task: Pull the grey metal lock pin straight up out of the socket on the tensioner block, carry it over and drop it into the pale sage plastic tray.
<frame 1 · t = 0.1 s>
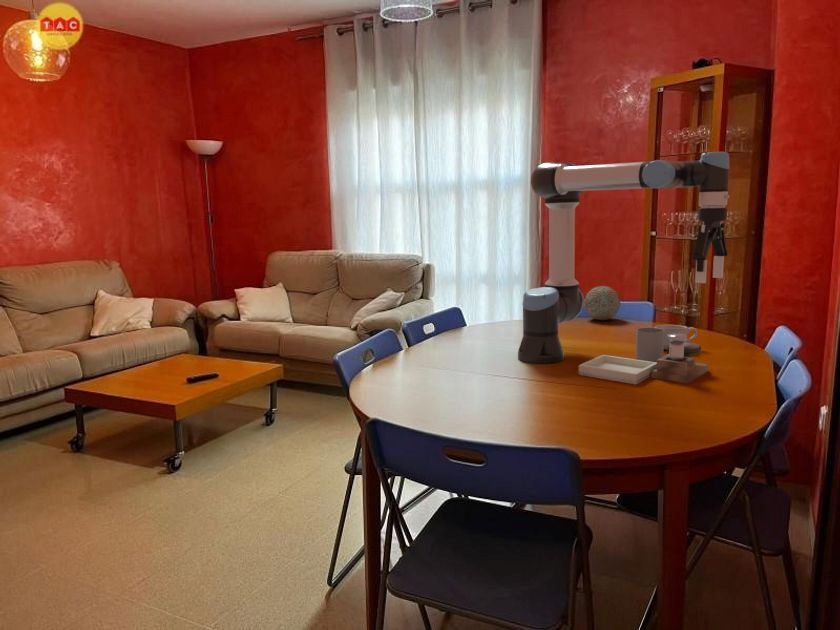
hand: (709, 280, 186), 28 cm above the table, fingers open, 13 cm apart
pin: (675, 370, 187), point 2 cm above the table, touching tensioner block
tensioner block: (675, 376, 187), on the table
tray: (618, 373, 193), on the table
teacup: (675, 349, 221), on the table
decorative sphere: (601, 320, 277), on the table
cup: (649, 360, 208), on the table
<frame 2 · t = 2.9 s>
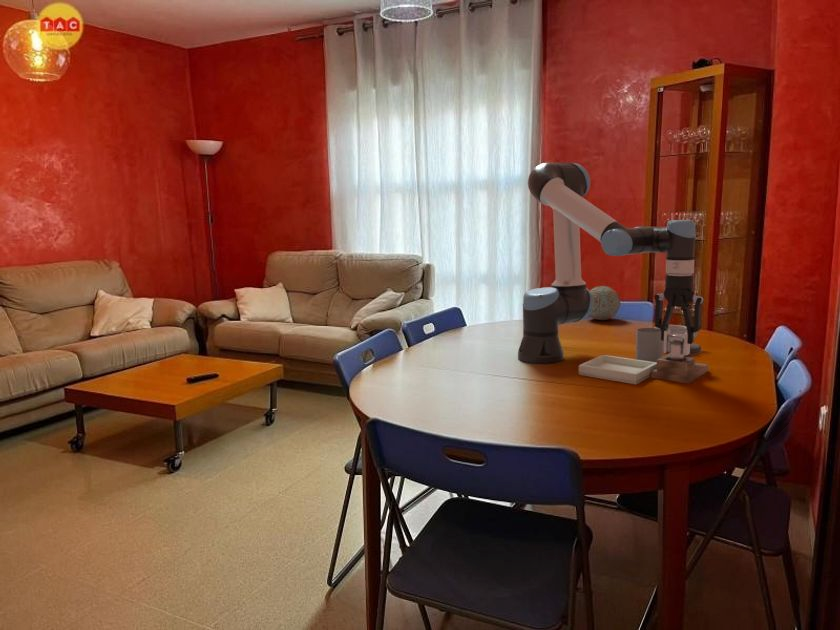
hand: (676, 352, 186), 7 cm above the table, fingers closed on pin, 5 cm apart
pin: (675, 370, 187), point 2 cm above the table, touching gripper, tensioner block
everything else where it was.
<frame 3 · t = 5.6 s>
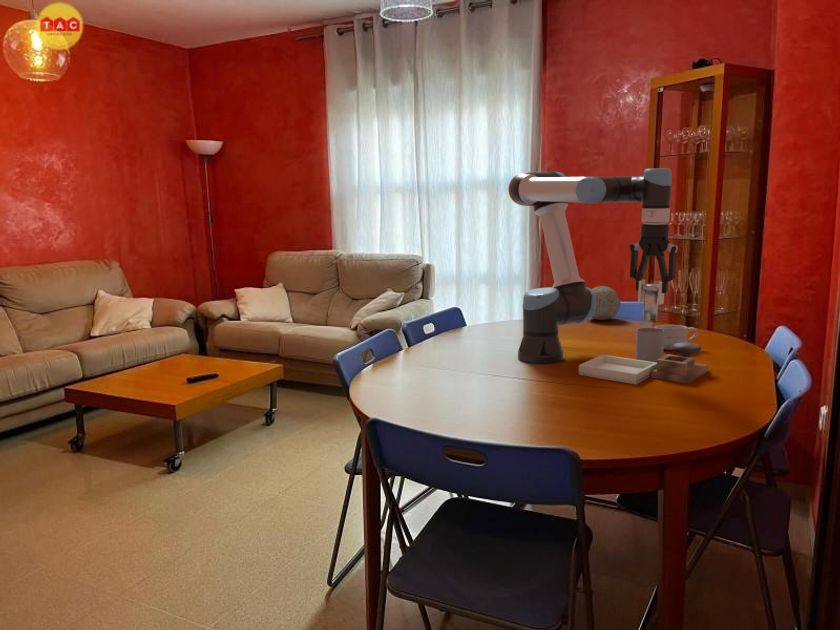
hand: (650, 302, 187), 22 cm above the table, fingers closed on pin, 5 cm apart
pin: (649, 320, 188), point 17 cm above the table, touching gripper
everything else where it was.
when the fingers open (8 cm above the table, at t = 8.4 s): pin drops 2 cm, resting on tray.
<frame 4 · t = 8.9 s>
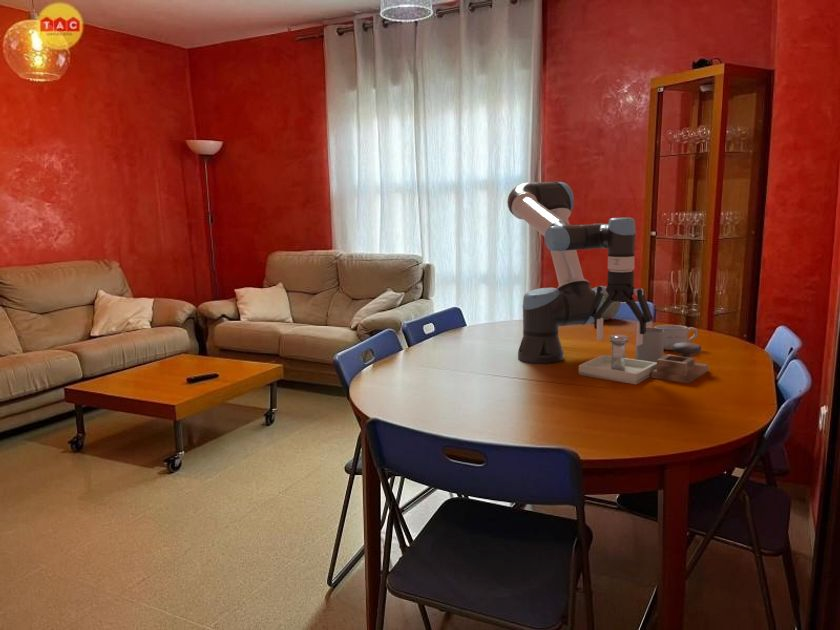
hand: (619, 342, 191), 10 cm above the table, fingers open, 12 cm apart
pin: (618, 370, 193), point 1 cm above the table, touching tray
everything else where it was.
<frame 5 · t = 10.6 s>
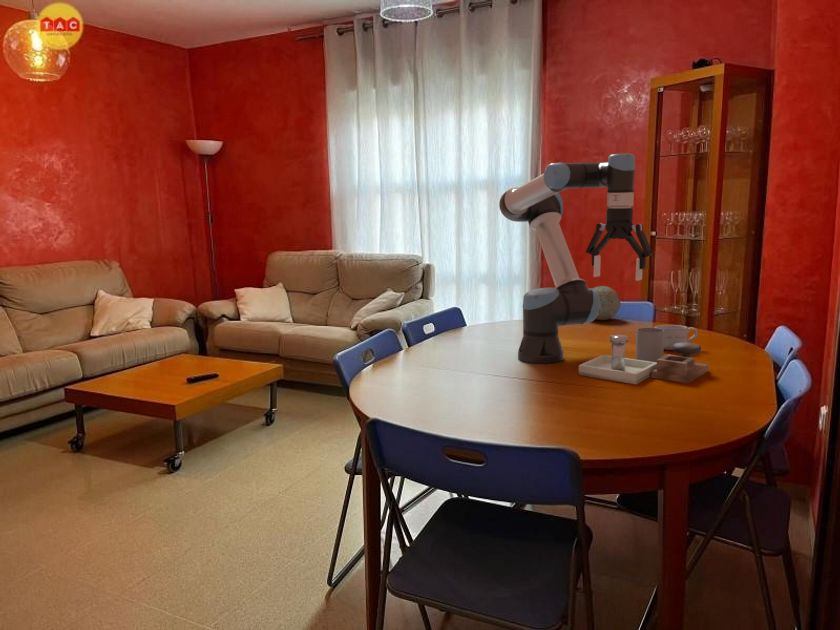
hand: (617, 278, 192), 29 cm above the table, fingers open, 13 cm apart
nothing on the table moved.
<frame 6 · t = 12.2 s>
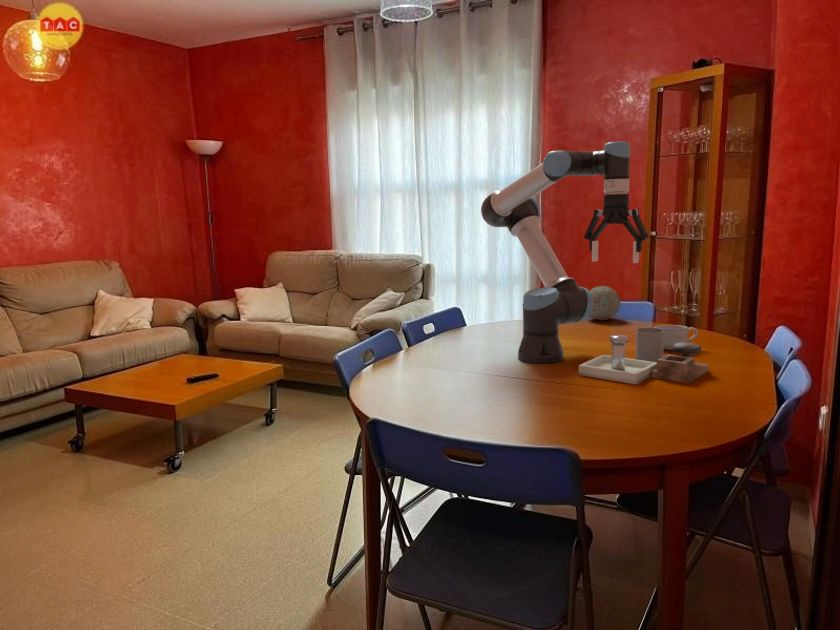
hand: (614, 262, 200), 33 cm above the table, fingers open, 13 cm apart
nothing on the table moved.
at the end: pin inside the target area on the tray (0.1 cm from its centre), point 1.0 cm above the tray's base; the gripper is holding nothing; pin touching tray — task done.
